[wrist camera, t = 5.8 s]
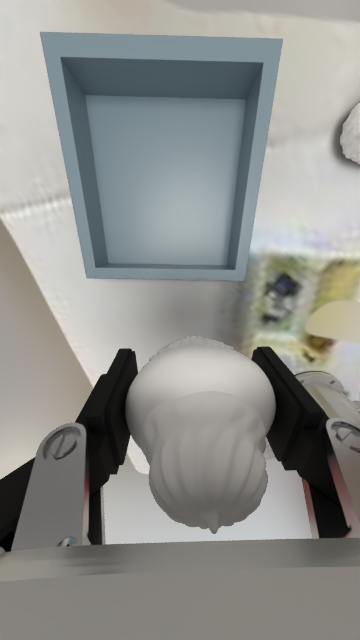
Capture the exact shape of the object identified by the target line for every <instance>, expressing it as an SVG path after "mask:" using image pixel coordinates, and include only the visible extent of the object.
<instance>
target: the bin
mask: <svg viewBox="0 0 360 640" xmlns="http://www.w3.org/2000/svg"><path fill="white" fill-rule="evenodd" d="M40 36H41V41H42V46H43V52H44V57H45V62H46V67H47V73H48V78H49V83H50V88H51V94H52V99H53V104H54V109H55V115H56V120H57V125H58V130H59V136H60V141H61V146H62V151H63V157H64V162H65V167H66V172H67V178H68V183H69V188H70V193H71V199H72V204H73V209H74V215H75V220H76V225H77V230H78V236H79V241H80V246H81V251H82V257H83V262H84V267H85V272H86V278H95V279H157V280H218V281H244V280H245V273H246V267H247V261H248V255H249V248H250V242H251V236H252V230H253V223H254V217H255V211H256V205H257V198H258V192H259V186H260V180H261V173H262V167H263V161H264V155H265V148H266V142H267V136H268V130H269V123H270V117H271V111H272V105H273V98H274V92H275V86H276V80H277V73H278V67H279V61H280V55H281V48H282V42H283V39H270V38H235V37H201V36H166V35H131V34H96V33H62V32H40Z"/></svg>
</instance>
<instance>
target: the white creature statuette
mask: <svg viewBox="0 0 360 640" xmlns="http://www.w3.org/2000/svg"><path fill="white" fill-rule="evenodd" d="M340 144H341V145H342V149H343V154H344V155H345V157H346V158H347V159H352V161H354V162H356V163H358V164H360V102H359V103H358V104H356V105H355V107H354V108H353V109H352V111H351V113H350V115H349V116H348V118H347V120H346V121H345V122H344V124H343V132H342V135H341V137H340Z"/></svg>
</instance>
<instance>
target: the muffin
mask: <svg viewBox="0 0 360 640" xmlns="http://www.w3.org/2000/svg"><path fill="white" fill-rule="evenodd" d="M149 361H150V362H149V363H147V364H146V365H145V366H144V367H143V368H142V369H141V371H140V372H139V373H138V374H137V376H136V377H135V379H134V380H133V382H132V384H131V386H130V388H129V390H128V393H127V397H126V402H125V415H126V421H127V425H128V428H129V431H130V433H131V436H132V438H133V439H134V441H135V442H136V444H137V445H138V446H139V447H140V448H141V449H142V451H143V453H144V455H145V456H146V459H147V461H148V463H149V465H150V471H149V485H150V489H151V492H152V494H153V496H154V499H155V500H156V502H157V504H158V505H159V506H160V507H161V508H162V510H163V511H164V512H166V514H167V515H168V516H169V517H170V518H171V519H173V520H174V521H176V522H179V523H183V524H185V525H187V526H189V527H200V528H202V529H207V528H209V529H210V530H211V532H212V533H214V534H215V533H216V532H217V530H218V528H220V527H221V526H232V525H233V524H234V523H235V522H240V521H242V520H245V519H246V517H247V516H248V515H249V514H251V513H252V512H254V511H255V510H256V509H257V507H258V506H259V505H260V502H261V498H262V497H263V494H264V493H265V491H266V487H267V482H268V476H267V473H266V470H265V468H266V463H265V458H264V456H263V452H264V450H265V448H266V440H265V437H266V435H267V433H268V431H269V430H270V428H271V425H272V423H273V420H274V417H275V412H276V400H275V395H274V391H273V388H272V386H271V384H270V381H269V379H268V378H267V376H266V375H265V373H264V372H263V371H262V369H261V368H260V367H259V366H258V365H257V364H256V363H254V362H253V361H252V360H251V359H249V358H248V357H246V356H244V355H243V354H242V353H240V352H237V351H235V350H234V348H233V347H231V346H228V345H225V344H223V342H220V341H216V340H212V339H209V338H205V337H200V336H197V337H195V336H192V337H188V336H187V337H186V338H184V339H179V340H177V341H175V342H173V343H171V344H169V345H168V346H166V347H164V348H162V349H161V350H159V351H158V353H157V354H155V355H154V356H152V357H151V358H150V359H149Z"/></svg>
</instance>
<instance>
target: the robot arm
mask: <svg viewBox="0 0 360 640" xmlns="http://www.w3.org/2000/svg"><path fill="white" fill-rule="evenodd" d="M252 361H253V362H254V363H256V364H257V365H258V366H259V367H260V368H261V369H262V371H263V372H264V373H265V375H266V376H267V378H268V379H269V381H270V384H271V386H272V388H273V391H274V395H275V400H276V412H275V417H274V420H273V423H272V425H271V428H270V430H269V431H268V433H267V435H266V437H267V439H268V441H269V444H270V446H271V448H272V450H273V452H274V455H275V457H276V459H277V460H278V461H281V462H282V465H283V466H284V469H285V470H297V472H298V474H299V476H300V477H301V478H302V482H303V488H304V493H305V499H306V504H307V510H308V516H309V522H310V528H311V533H312V539H276V540H240V541H203V542H170V543H142V544H141V543H140V544H111V545H105V524H104V498H103V485H104V484H105V483H106V482H107V481H108V480H109V476H110V474H117V472H118V468H119V465H123V463H124V460H125V456H126V452H127V448H128V443H129V439H130V435H131V433H130V431H129V428H128V425H127V421H126V415H125V402H126V397H127V393H128V390H129V388H130V386H131V384H132V382H133V380H134V379H135V377H136V376H137V374H138V370H137V362H136V355H135V351H132V350H131V349H119V351H118V353H117V355H116V357H115V359H114V361H113V363H112V365H111V366H110V368H109V370H108V372H107V374H102V375H101V376H100V378H99V380H98V381H97V383H96V385H95V387H94V389H93V390H92V392H91V394H90V396H89V398H88V400H87V402H86V403H85V405H84V407H83V409H82V411H81V412H80V414H79V416H78V418H77V420H76V421H75V423H68V424H65V425H62V426H60V427H58V428H56V429H55V430H53V431H52V432H51V433H49V434H48V435H47V436H46V437H45V438H44V440H43V441H42V442H41V444H40V446H39V448H38V450H37V453H36V457H35V458H33V459H31V460H30V461H28V462H27V463H25V464H24V465H22V466H21V467H19V468H17V469H16V470H14V471H13V472H11V473H10V474H8V475H7V476H5V477H4V478H2V479H1V480H0V640H360V401H351V400H350V399H349V398H347V397H346V396H345V395H344V388H343V386H342V384H341V383H340V382H339V381H338V380H337V379H336V378H335V377H333V376H332V375H330V374H327V373H323V372H307V373H303V374H299V375H297V376H294V375H293V373H292V372H291V371H290V370H289V369H288V368H287V366H286V365H285V364H284V363H283V362H282V360H281V359H280V358H279V357H278V356H277V355H276V353H275V352H274V351H273V350H272V349H271V348H270V347H257V349H256V350H254V351H253V356H252Z"/></svg>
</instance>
